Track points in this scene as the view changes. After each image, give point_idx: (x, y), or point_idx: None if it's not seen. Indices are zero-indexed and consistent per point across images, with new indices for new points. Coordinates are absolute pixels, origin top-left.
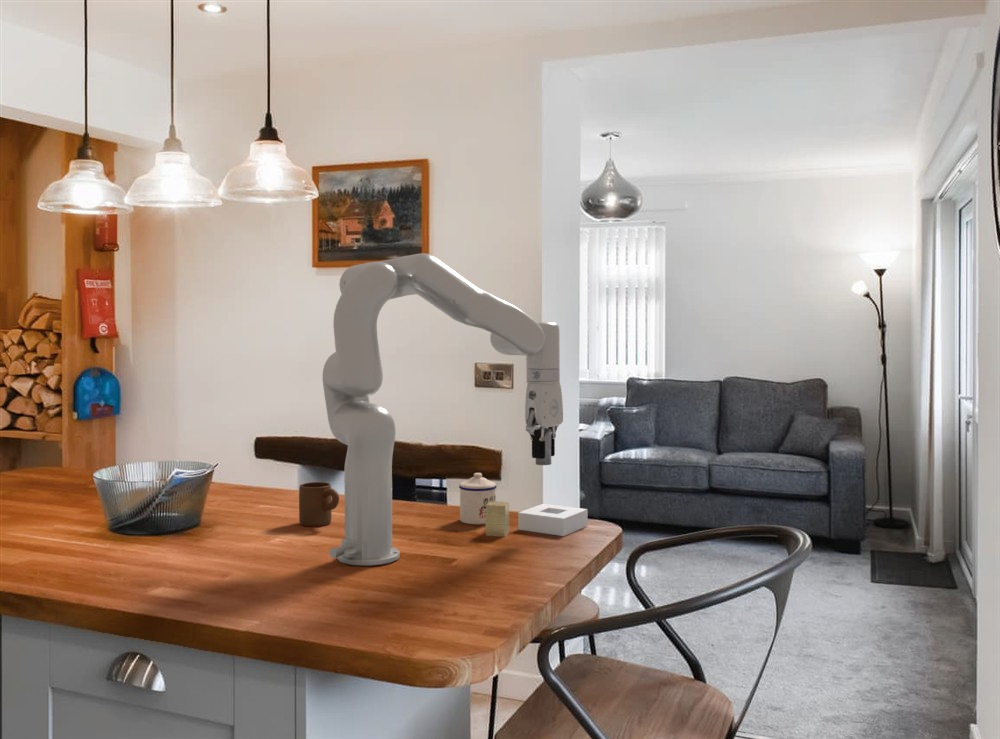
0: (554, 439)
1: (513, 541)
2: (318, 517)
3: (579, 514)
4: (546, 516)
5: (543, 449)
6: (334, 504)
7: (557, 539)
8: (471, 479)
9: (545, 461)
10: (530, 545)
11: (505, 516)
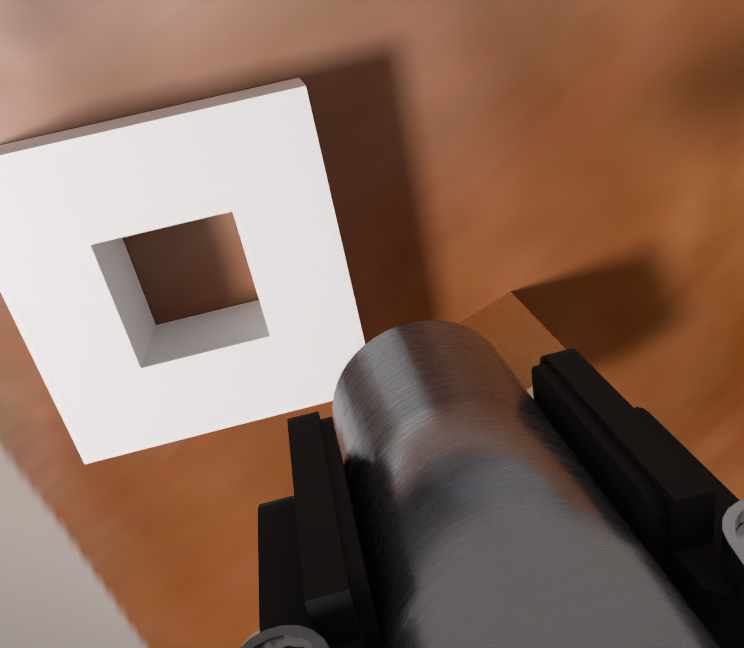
0: (308, 589)
1: (561, 197)
2: None
3: (76, 136)
4: (335, 216)
5: (633, 414)
6: None
7: (382, 55)
8: None
9: (490, 351)
10: (577, 77)
11: (541, 336)
